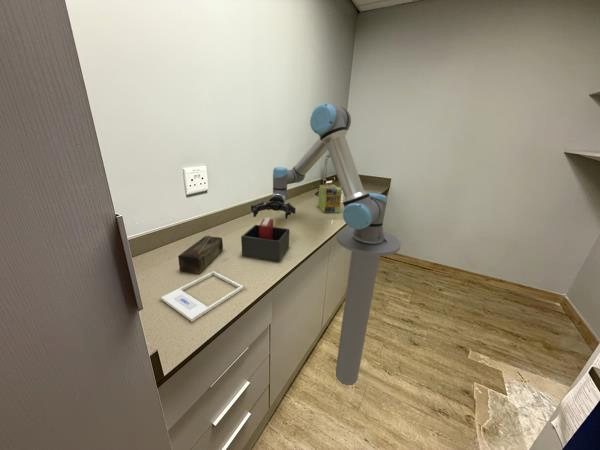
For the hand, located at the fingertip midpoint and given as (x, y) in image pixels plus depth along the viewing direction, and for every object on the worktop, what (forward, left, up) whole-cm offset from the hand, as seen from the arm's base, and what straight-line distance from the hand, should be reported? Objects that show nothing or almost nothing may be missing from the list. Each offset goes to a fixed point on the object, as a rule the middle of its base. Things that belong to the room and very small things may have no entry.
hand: (270, 214), depth 102 cm
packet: (-1, +6, -14) cm, 15 cm away
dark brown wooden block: (+19, +20, -15) cm, 32 cm away
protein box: (-18, -65, -15) cm, 69 cm away
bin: (-1, +6, -14) cm, 16 cm away
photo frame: (+7, +39, -14) cm, 42 cm away
